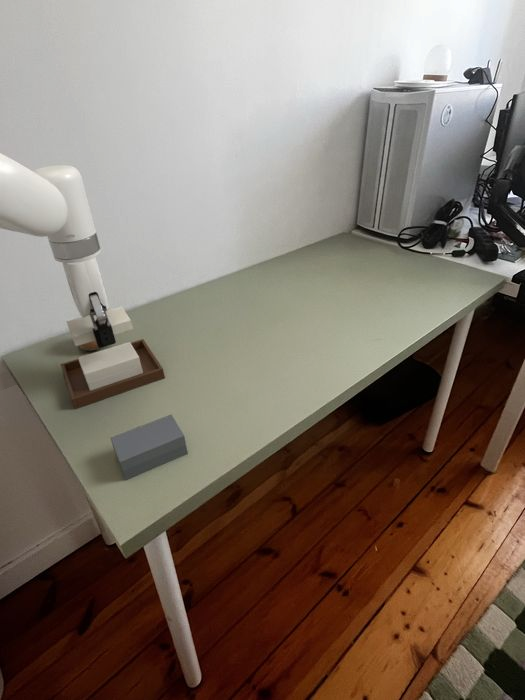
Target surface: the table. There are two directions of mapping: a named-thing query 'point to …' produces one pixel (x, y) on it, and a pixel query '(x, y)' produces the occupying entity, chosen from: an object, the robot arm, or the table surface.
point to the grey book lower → (154, 462)
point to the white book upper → (109, 361)
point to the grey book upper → (147, 442)
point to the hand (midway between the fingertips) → (102, 335)
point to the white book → (84, 327)
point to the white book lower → (114, 378)
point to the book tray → (85, 396)
